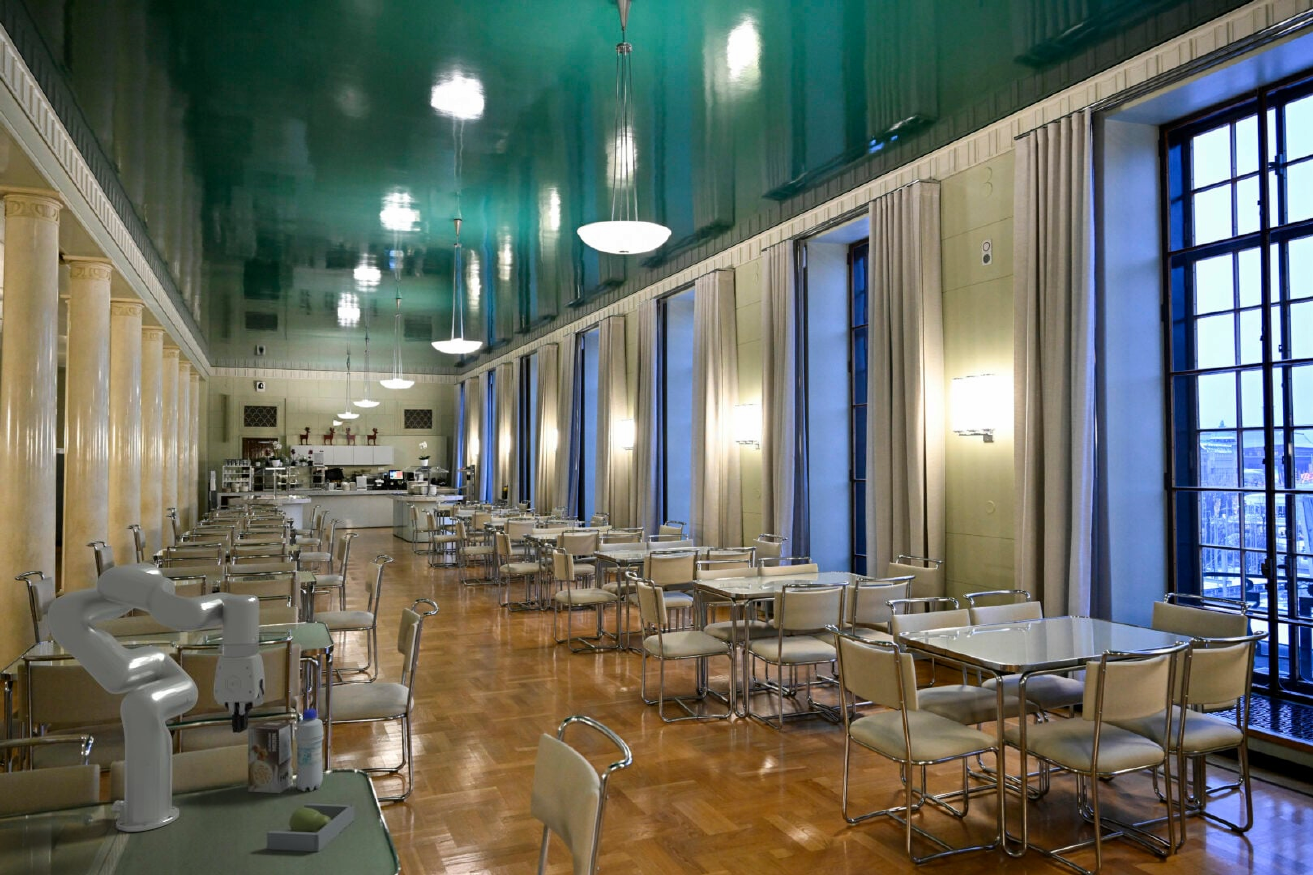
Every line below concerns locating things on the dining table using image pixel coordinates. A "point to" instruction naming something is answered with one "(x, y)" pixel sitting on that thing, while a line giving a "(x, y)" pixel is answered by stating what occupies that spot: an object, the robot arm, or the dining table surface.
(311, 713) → the bottle
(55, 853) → the dining table surface
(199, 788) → the dining table surface
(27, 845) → the dining table surface
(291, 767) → the coffee box
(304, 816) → the pear
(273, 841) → the box
